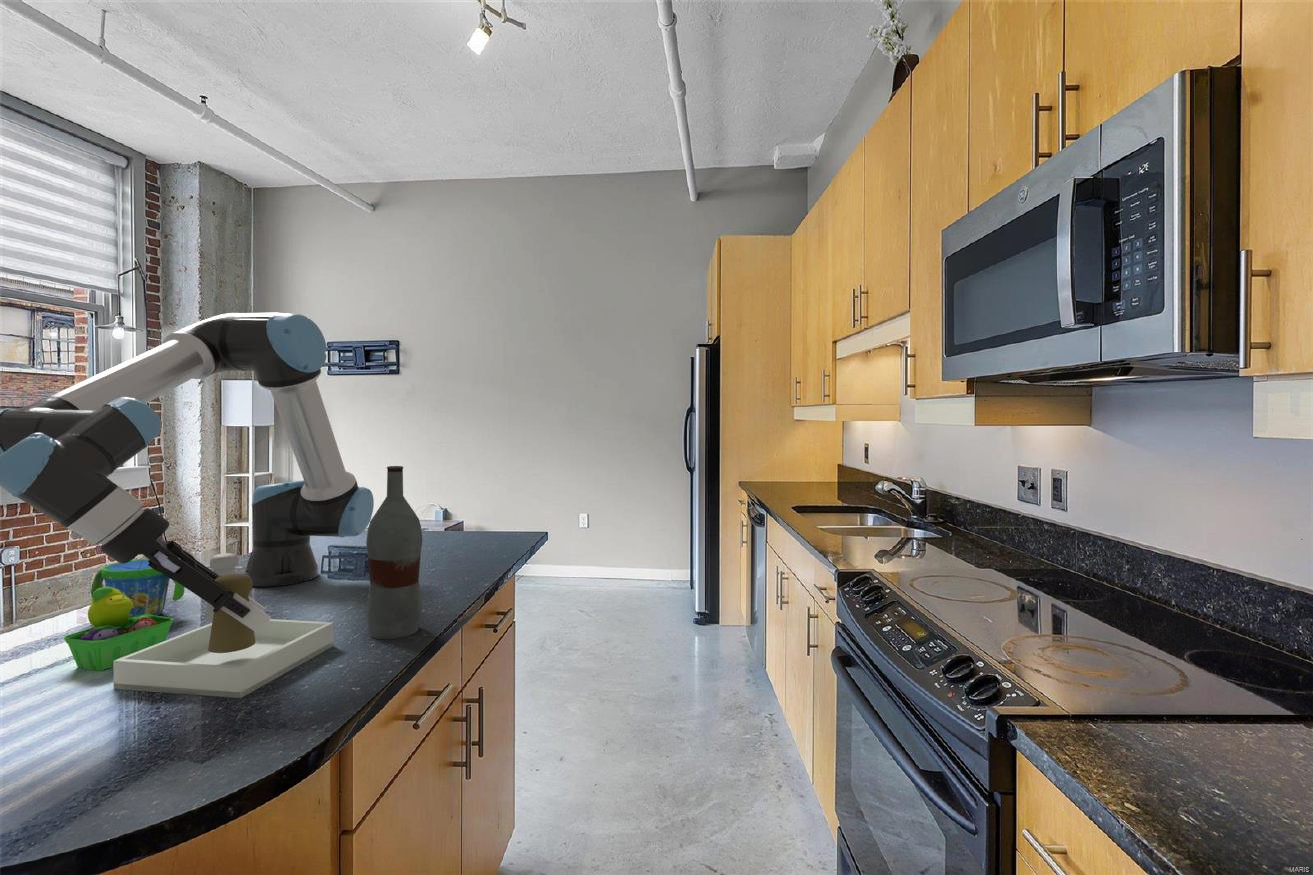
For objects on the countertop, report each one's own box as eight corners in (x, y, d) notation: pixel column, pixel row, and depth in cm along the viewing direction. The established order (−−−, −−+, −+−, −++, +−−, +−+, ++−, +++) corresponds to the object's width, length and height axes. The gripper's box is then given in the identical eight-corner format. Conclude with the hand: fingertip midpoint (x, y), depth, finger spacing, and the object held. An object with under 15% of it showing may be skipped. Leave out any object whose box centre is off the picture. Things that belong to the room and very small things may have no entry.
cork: (219, 656, 89) (219, 582, 89) (200, 647, 92) (200, 576, 92) (263, 644, 94) (263, 573, 94) (244, 636, 98) (244, 568, 97)
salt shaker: (250, 619, 115) (250, 551, 115) (226, 629, 109) (226, 558, 109) (222, 618, 116) (222, 550, 115) (196, 628, 110) (196, 557, 110)
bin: (227, 639, 105) (227, 616, 104) (333, 646, 102) (333, 622, 102) (113, 688, 85) (113, 660, 85) (240, 698, 83) (240, 669, 83)
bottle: (365, 643, 104) (366, 468, 103) (366, 627, 112) (366, 465, 111) (424, 636, 108) (425, 467, 107) (420, 620, 116) (421, 464, 115)
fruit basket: (95, 676, 89) (95, 600, 89) (55, 668, 92) (55, 594, 92) (176, 649, 100) (176, 581, 100) (138, 642, 103) (138, 576, 102)
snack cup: (199, 610, 121) (199, 559, 120) (152, 627, 110) (152, 572, 110) (126, 607, 122) (125, 557, 121) (72, 624, 111) (71, 569, 111)
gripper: (100, 537, 90) (234, 625, 101) (92, 559, 76) (248, 658, 87) (146, 499, 93) (271, 588, 104) (147, 513, 80) (291, 614, 90)
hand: (260, 619), depth 96 cm, fingers closed on cork, 5 cm apart
